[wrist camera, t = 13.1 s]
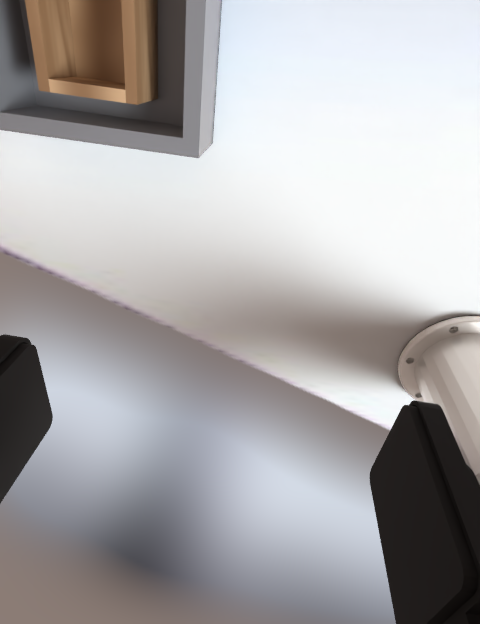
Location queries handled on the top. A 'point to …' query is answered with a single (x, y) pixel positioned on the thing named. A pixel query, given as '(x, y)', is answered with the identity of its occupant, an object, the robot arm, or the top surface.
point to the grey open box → (116, 115)
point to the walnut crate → (96, 48)
